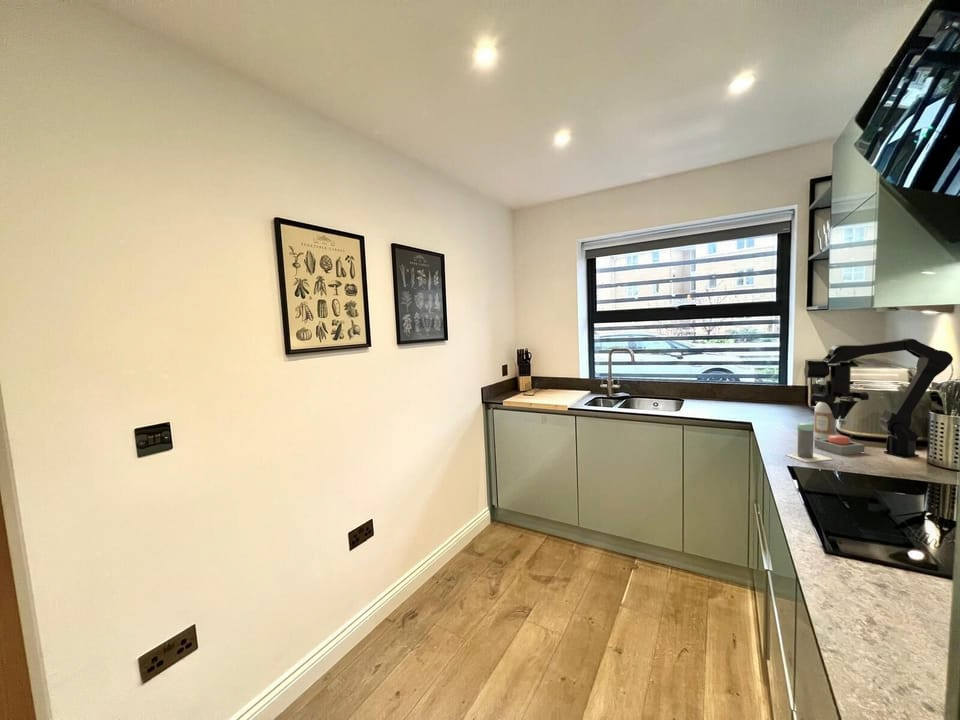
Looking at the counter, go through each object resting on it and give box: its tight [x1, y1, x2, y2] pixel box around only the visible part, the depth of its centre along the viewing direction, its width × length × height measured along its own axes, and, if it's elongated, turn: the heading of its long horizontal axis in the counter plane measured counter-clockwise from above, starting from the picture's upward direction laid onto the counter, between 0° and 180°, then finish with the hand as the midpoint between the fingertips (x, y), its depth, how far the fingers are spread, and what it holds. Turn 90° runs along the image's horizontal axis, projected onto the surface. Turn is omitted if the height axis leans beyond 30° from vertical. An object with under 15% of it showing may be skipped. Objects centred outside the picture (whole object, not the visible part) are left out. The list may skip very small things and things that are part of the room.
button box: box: [814, 439, 865, 456], centre depth 151 cm, size 10×10×3 cm
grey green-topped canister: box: [796, 422, 814, 458], centre depth 144 cm, size 5×5×12 cm
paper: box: [786, 452, 834, 463], centre depth 144 cm, size 8×11×1 cm
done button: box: [828, 434, 851, 446], centre depth 150 cm, size 6×6×4 cm
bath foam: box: [813, 401, 837, 440], centre depth 165 cm, size 7×7×20 cm
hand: (839, 419), depth 150 cm, fingers open, 2 cm apart
